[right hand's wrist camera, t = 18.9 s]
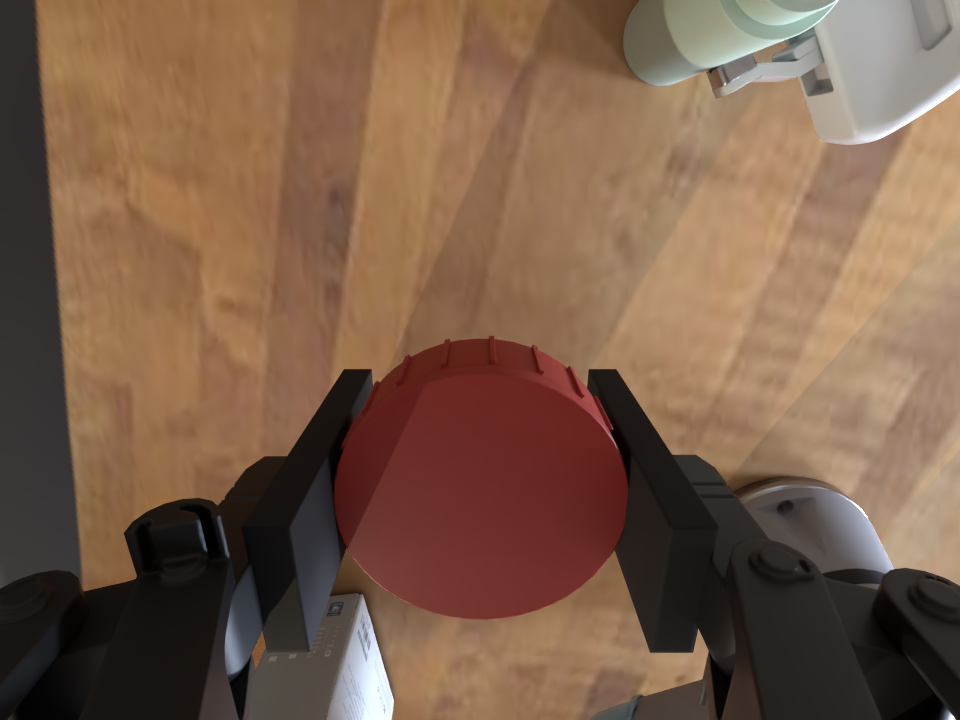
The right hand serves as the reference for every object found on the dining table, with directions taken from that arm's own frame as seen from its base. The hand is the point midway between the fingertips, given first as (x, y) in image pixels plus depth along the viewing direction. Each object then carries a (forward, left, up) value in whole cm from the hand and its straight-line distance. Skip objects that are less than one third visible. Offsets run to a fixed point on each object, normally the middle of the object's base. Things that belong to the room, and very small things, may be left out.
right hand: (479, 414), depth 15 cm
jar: (-3, -18, -24) cm, 30 cm away
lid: (0, 0, +4) cm, 4 cm away
